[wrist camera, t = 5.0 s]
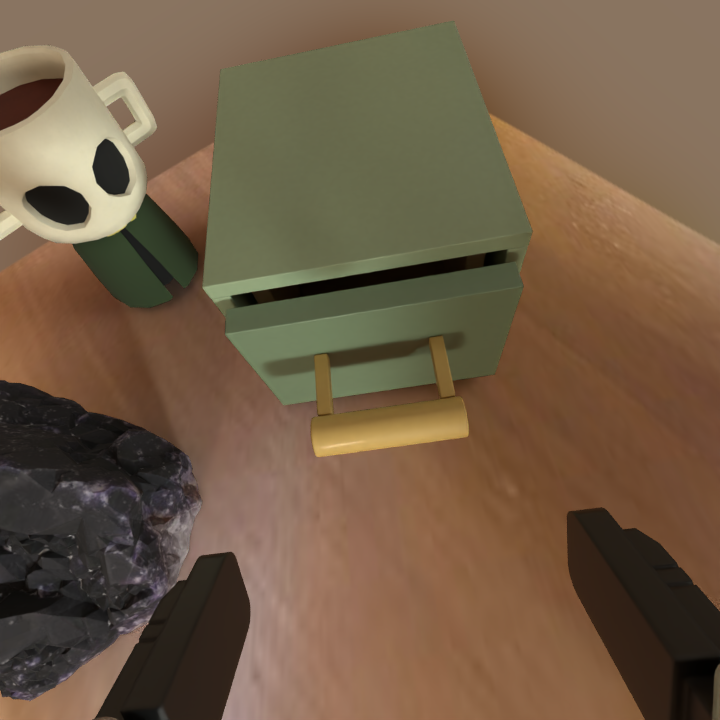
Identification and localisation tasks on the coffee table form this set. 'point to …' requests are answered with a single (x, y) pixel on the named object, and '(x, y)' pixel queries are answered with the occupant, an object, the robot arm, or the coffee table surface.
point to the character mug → (85, 174)
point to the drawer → (380, 346)
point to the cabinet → (355, 167)
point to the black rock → (81, 533)
